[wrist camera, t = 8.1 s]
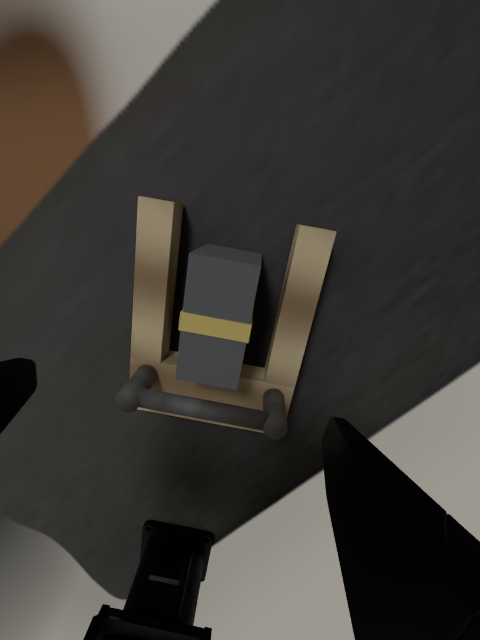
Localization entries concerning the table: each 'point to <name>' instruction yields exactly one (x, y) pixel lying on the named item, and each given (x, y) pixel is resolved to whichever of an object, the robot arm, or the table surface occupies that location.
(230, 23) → the table surface
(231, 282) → the banded grey block
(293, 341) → the wooden u-shaped holder
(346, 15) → the table surface
